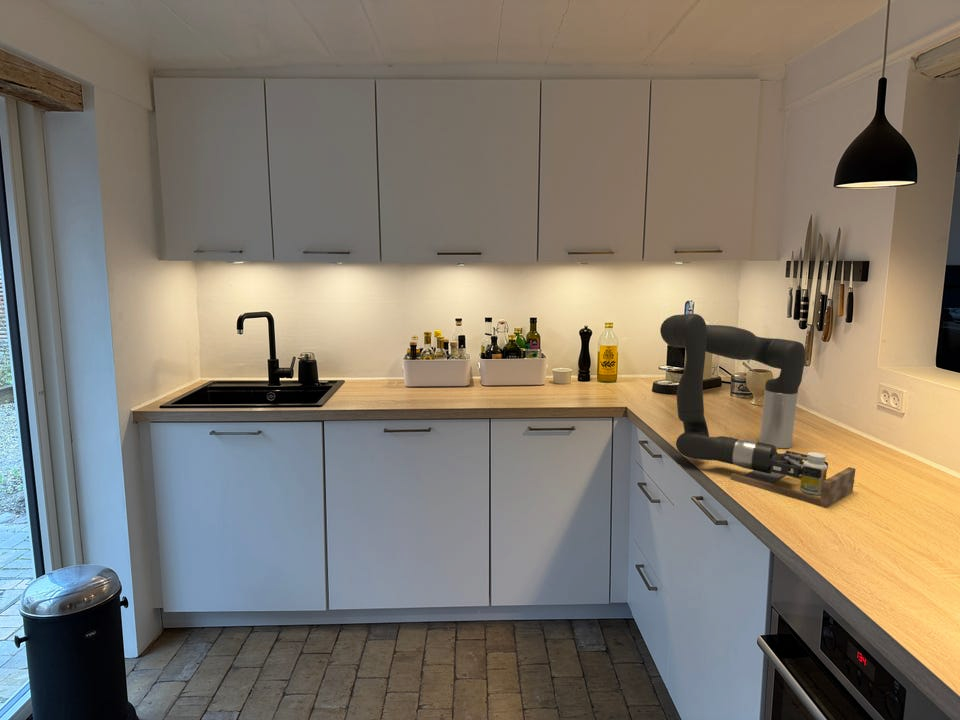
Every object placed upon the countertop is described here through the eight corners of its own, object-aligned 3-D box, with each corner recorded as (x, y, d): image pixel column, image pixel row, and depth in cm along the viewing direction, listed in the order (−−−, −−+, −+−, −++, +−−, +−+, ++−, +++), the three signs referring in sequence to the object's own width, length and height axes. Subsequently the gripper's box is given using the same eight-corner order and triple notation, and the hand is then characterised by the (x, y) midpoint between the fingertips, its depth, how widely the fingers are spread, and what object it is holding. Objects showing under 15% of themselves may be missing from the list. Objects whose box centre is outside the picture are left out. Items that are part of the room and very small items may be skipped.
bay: (760, 466, 174) (762, 445, 173) (852, 491, 156) (855, 468, 155) (730, 479, 163) (732, 457, 162) (826, 507, 145) (829, 483, 144)
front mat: (759, 469, 171) (759, 467, 171) (785, 476, 166) (785, 474, 166) (738, 478, 163) (739, 476, 163) (765, 485, 158) (765, 484, 158)
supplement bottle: (808, 495, 153) (812, 458, 151) (795, 487, 158) (799, 451, 156) (828, 495, 153) (833, 458, 152) (815, 487, 158) (819, 451, 157)
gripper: (747, 447, 157) (820, 462, 147) (763, 436, 168) (831, 449, 158) (744, 476, 158) (816, 492, 148) (760, 462, 169) (828, 477, 159)
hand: (824, 470), depth 153 cm, fingers open, 7 cm apart
